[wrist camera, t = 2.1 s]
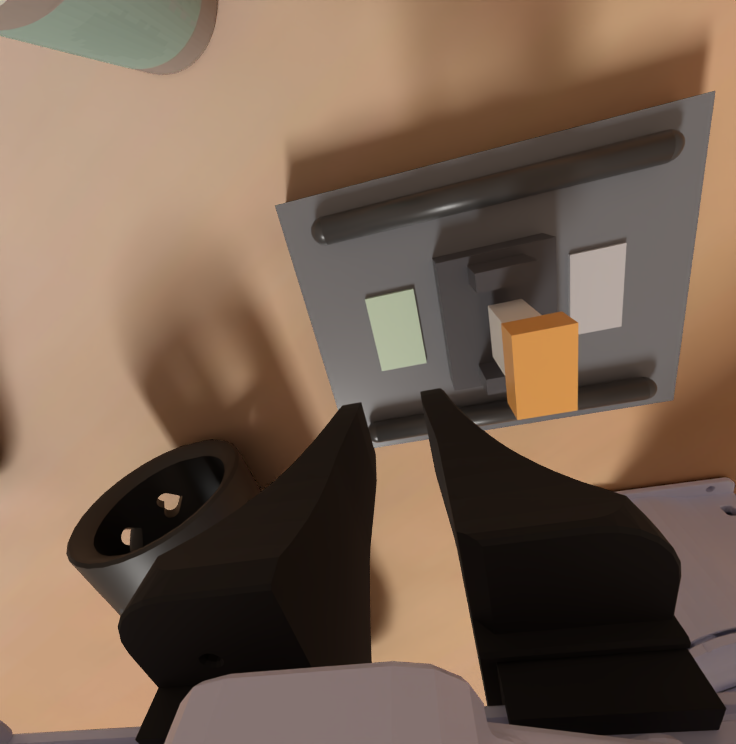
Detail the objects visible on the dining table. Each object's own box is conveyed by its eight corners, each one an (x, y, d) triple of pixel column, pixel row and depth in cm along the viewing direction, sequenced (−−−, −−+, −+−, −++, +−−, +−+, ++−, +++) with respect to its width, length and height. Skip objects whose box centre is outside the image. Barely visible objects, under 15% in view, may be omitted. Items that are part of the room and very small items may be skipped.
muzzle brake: (267, 415, 24) (195, 553, 15) (385, 654, 36) (384, 816, 27) (143, 445, 26) (8, 588, 17) (293, 665, 38) (262, 822, 28)
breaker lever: (528, 287, 16) (578, 322, 11) (531, 357, 17) (577, 410, 13) (479, 298, 16) (511, 335, 12) (486, 365, 17) (517, 420, 13)
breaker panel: (679, 101, 16) (794, 67, 12) (650, 383, 22) (718, 434, 17) (285, 203, 19) (252, 208, 14) (353, 432, 25) (345, 488, 20)
